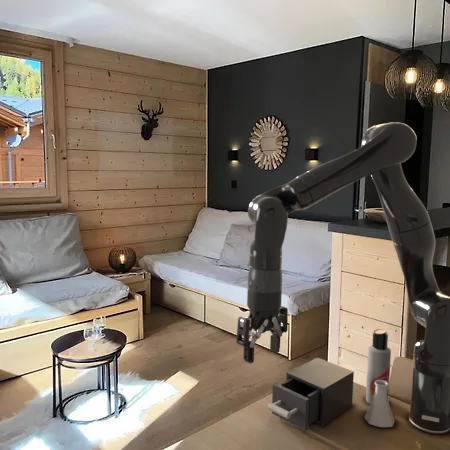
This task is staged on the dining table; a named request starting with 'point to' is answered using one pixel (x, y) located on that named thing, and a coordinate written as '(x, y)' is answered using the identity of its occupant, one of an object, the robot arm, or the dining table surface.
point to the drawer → (296, 403)
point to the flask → (380, 407)
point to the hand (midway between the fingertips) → (262, 356)
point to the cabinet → (327, 386)
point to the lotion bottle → (378, 363)
